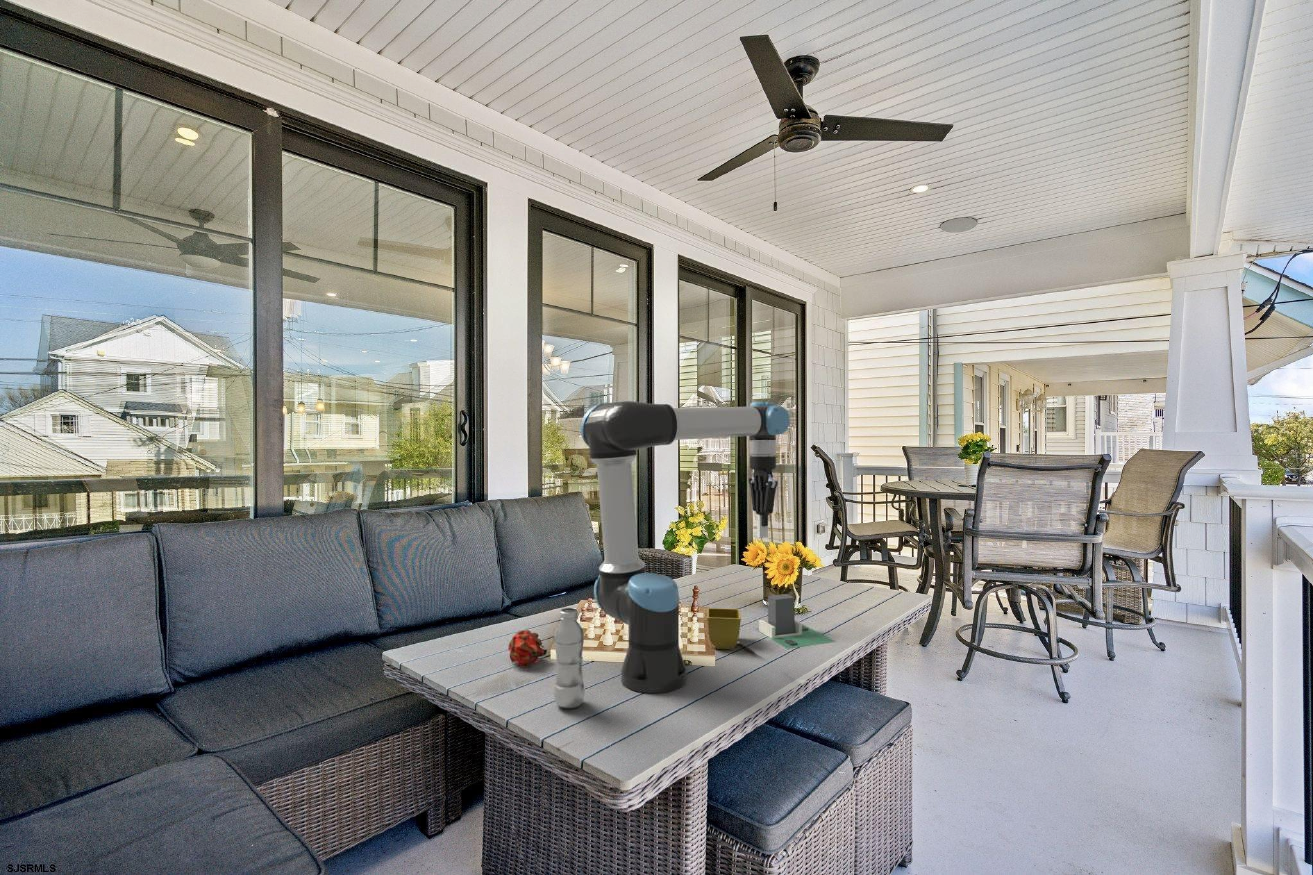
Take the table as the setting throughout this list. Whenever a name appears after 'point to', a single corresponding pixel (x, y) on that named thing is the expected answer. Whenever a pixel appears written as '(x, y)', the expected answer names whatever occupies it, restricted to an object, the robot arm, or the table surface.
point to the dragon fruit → (526, 648)
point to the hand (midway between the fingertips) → (762, 536)
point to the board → (794, 635)
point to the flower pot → (723, 627)
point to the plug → (781, 613)
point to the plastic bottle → (569, 660)
